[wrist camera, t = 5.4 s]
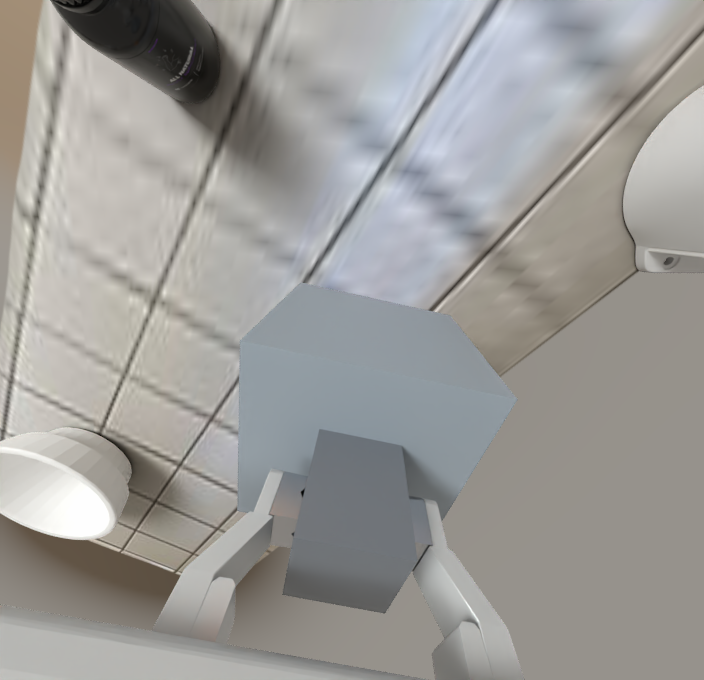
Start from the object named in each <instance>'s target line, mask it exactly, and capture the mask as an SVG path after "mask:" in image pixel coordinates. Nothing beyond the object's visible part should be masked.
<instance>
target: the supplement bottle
mask: <svg viewBox="0 0 704 680" xmlns="http://www.w3.org/2000/svg"><path fill="white" fill-rule="evenodd" d="M51 2H52V4H53V5H54V7H55V8H56V10H57V12H58V13H59V14H60V16H61V17H62V18H63V20H64V21H65V22H66V23H67V25H68V26H69V27H70V28H71V29H72V30H73V31H74V32H75V33H76V34H77V35H78V36H79V37H80V38H81V39H82V40H83V41H85V42H86V43H87V44H88V45H90V46H91V47H93V48H94V49H96V50H97V51H99V52H100V53H102V54H103V55H105V56H106V57H108V58H110V59H111V60H113V61H114V62H116V63H118V64H119V65H121V66H122V67H124V68H126V69H127V70H129V71H130V72H132V73H133V74H135V75H137V76H138V77H140V78H141V79H143V80H145V81H146V82H148V83H149V84H151V85H153V86H154V87H156V88H157V89H159V90H161V91H162V92H164V93H165V94H167V95H169V96H170V97H172V98H174V99H176V100H178V101H181V102H184V103H198V102H201V101H203V100H205V99H206V98H207V97H208V96H209V95H210V94H211V93H212V92H213V90H214V89H215V87H216V84H217V82H218V78H219V72H220V57H219V51H218V46H217V42H216V39H215V37H214V34H213V32H212V30H211V28H210V26H209V24H208V22H207V21H206V19H205V18H204V16H203V15H202V14H201V12H200V11H199V10H198V8H197V7H196V6H195V4H194V3H193V2H192V1H191V0H51Z"/></svg>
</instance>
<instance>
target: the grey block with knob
mask: <svg viewBox="0 0 704 680" xmlns="http://www.w3.org/2000/svg"><path fill="white" fill-rule="evenodd" d="M516 401H517V398H516V397H515V396H514V395H513V393H512V392H511V391H510V389H509V388H508V387H507V386H506V384H505V383H504V382H503V381H502V379H501V378H500V377H499V376H498V374H497V373H496V372H495V371H494V369H493V368H492V367H491V366H490V364H489V363H488V362H487V361H486V359H485V358H484V357H483V356H482V354H481V353H480V352H479V351H478V349H477V348H476V347H475V346H474V344H473V343H472V342H471V341H470V339H469V338H468V337H467V336H466V334H465V333H464V332H463V331H462V329H461V328H460V327H459V326H458V324H457V323H456V322H455V321H454V319H453V318H452V317H451V316H450V315H446V314H441V313H437V312H432V311H428V310H423V309H419V308H414V307H409V306H405V305H400V304H396V303H391V302H387V301H382V300H378V299H373V298H369V297H364V296H360V295H355V294H351V293H346V292H342V291H337V290H333V289H328V288H323V287H319V286H314V285H310V284H305V283H300V284H299V285H298V286H297V287H296V288H295V289H293V290H292V291H291V292H290V293H289V294H288V295H287V296H286V297H285V298H284V299H283V300H282V301H281V302H280V303H279V304H278V305H277V306H276V307H275V308H274V309H273V310H272V311H270V312H269V313H268V314H267V315H266V316H265V317H264V318H263V319H262V320H261V321H260V322H259V323H258V324H257V325H256V326H255V327H254V328H253V329H252V330H251V331H250V332H248V333H247V334H246V335H245V336H244V337H243V338H242V339H241V340H240V375H239V442H238V508H237V511H240V512H245V513H248V512H249V511H252V512H254V510H255V507H256V505H257V502H258V499H259V497H260V494H261V492H262V489H263V487H264V484H265V482H266V479H267V477H268V474H269V472H270V471H271V469H277V470H282V471H286V472H291V473H295V474H300V475H305V476H308V478H307V483H306V487H305V491H304V495H303V499H302V503H301V508H300V512H299V516H298V520H297V524H296V528H295V533H294V537H293V542H292V547H291V553H290V558H289V563H288V568H287V573H286V579H285V584H284V589H283V595H287V596H292V597H298V598H303V599H309V600H314V601H320V602H325V603H331V604H336V605H342V606H347V607H352V608H358V609H363V610H369V611H374V612H380V613H386V611H387V609H388V608H389V606H390V605H391V603H392V601H393V600H394V598H395V596H396V595H397V593H398V592H399V590H400V589H401V587H402V585H403V584H404V582H405V581H406V579H407V577H408V576H409V574H410V572H411V571H412V569H413V568H414V566H415V565H416V563H417V561H418V560H417V553H416V546H415V538H414V531H413V524H412V516H411V509H410V502H409V496H414V497H420V498H423V499H428V500H434V501H436V503H437V504H438V508H439V513H440V517H441V521H442V520H443V518H444V517H445V515H446V514H447V512H448V511H449V509H450V507H451V506H452V504H453V503H454V501H455V499H456V498H457V496H458V494H459V493H460V491H461V490H462V488H463V487H464V485H465V483H466V482H467V480H468V478H469V477H470V475H471V474H472V472H473V470H474V469H475V467H476V466H477V464H478V462H479V461H480V459H481V458H482V456H483V454H484V453H485V451H486V450H487V448H488V446H489V445H490V443H491V442H492V440H493V438H494V437H495V435H496V433H497V432H498V430H499V429H500V427H501V425H502V424H503V422H504V421H505V419H506V417H507V416H508V414H509V412H510V411H511V409H512V408H513V406H514V404H515V403H516Z"/></svg>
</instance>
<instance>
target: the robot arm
mask: <svg viewBox="0 0 704 680" xmlns="http://www.w3.org/2000/svg"><path fill="white" fill-rule="evenodd" d="M623 213H624V219H625V222H626V225H627V228H628V230H629V232H630V233H631V235H632V237H633V239H634V241H635V244H636V256H635V259H636V267H637V269H638V270H639V271H642V272H651V273H704V85H703V86H702V87H700V88H699V89H697V90H696V91H695V92H693V93H692V94H691V95H689V96H688V97H687V98H685V99H684V100H683V101H682V102H681V103H680V104H678V105H677V106H676V107H675V108H674V109H673V110H672V111H671V112H670V113H669V114H668V115H667V116H666V117H665V118H664V119H663V120H662V121H661V123H660V124H659V125H658V126H657V127H656V129H655V130H654V131H653V132H652V134H651V135H650V136H649V138H648V139H647V141H646V142H645V144H644V145H643V147H642V148H641V150H640V152H639V154H638V155H637V157H636V159H635V161H634V163H633V166H632V168H631V170H630V173H629V176H628V179H627V182H626V186H625V191H624V197H623ZM665 259H666V261H665ZM664 261H665V262H664ZM307 478H308V476H305V475H300V474H295V473H291V472H286V471H282V470H277V469H271V471H270V472H269V474H268V477H267V479H266V482H265V484H264V487H263V489H262V492H261V494H260V497H259V499H258V502H257V505H256V507H255V510H254V512H252V511H249V512H248V513H247V514H246V515H245V516H244V517H242V518H241V519H240V520H239V521H238V522H237V523H236V524H235V525H233V526H232V527H231V528H230V529H229V530H228V531H227V532H225V533H224V534H223V535H222V536H221V537H220V538H219V539H217V540H216V541H215V542H214V543H213V544H212V545H211V546H209V547H208V548H207V549H206V550H205V551H204V552H203V553H202V554H200V555H199V556H198V557H197V558H196V559H195V560H194V561H192V562H191V563H190V564H189V565H188V566H187V567H186V568H185V569H184V571H183V572H182V574H181V576H180V578H179V580H178V582H177V584H176V586H175V587H174V590H173V591H172V593H171V595H170V597H169V599H168V601H167V603H166V604H165V606H164V608H163V610H162V612H161V614H160V616H159V618H158V620H157V621H156V623H155V625H154V627H153V629H152V631H148V630H143V629H137V628H131V627H126V626H120V625H114V624H109V623H103V622H97V621H92V620H86V619H80V618H74V617H68V616H63V615H57V614H52V613H46V612H41V611H34V610H29V609H23V608H18V607H12V606H6V605H1V604H0V680H426V679H421V678H416V677H410V676H404V675H398V674H392V673H387V672H381V671H376V670H370V669H365V668H359V667H353V666H348V665H342V664H336V663H330V662H325V661H319V660H313V659H308V658H302V657H296V656H291V655H285V654H279V653H274V652H268V651H262V650H257V649H251V648H245V647H239V646H234V645H228V644H227V641H228V638H229V635H230V632H231V629H232V626H233V623H234V620H235V587H236V585H237V584H238V583H239V582H240V581H241V579H242V578H243V577H244V576H245V575H246V574H247V572H248V571H249V570H250V569H251V568H252V567H253V565H254V564H255V563H256V562H257V561H258V560H259V558H260V557H261V556H262V555H263V554H264V552H265V551H266V550H267V549H268V548H269V547H270V545H275V546H282V547H289V548H291V547H292V542H293V537H294V533H295V528H296V524H297V520H298V516H299V512H300V508H301V503H302V499H303V495H304V491H305V487H306V483H307ZM409 502H410V509H411V516H412V524H413V531H414V538H415V546H416V553H417V560H418V561H417V563H416V565H415V566H414V568H413V569H412V571H413V575H414V577H415V579H416V581H417V583H418V585H419V587H420V589H421V591H422V593H423V596H424V598H425V599H426V602H427V604H428V606H429V608H430V610H431V612H432V614H433V616H434V618H435V620H436V622H437V624H438V626H439V628H440V630H441V632H442V634H443V637H444V640H443V641H442V642H441V643H440V645H438V647H437V648H436V649H435V650H434V651H433V653H432V659H433V667H434V674H435V680H524V677H523V673H522V670H521V667H520V664H519V661H518V658H517V655H516V652H515V649H514V646H513V643H512V640H511V637H510V634H509V631H508V628H507V627H506V626H505V624H504V623H503V621H502V620H501V618H500V617H499V616H498V614H497V613H496V611H495V610H494V609H493V607H492V606H491V605H490V603H489V602H488V600H487V599H486V597H485V596H484V594H483V593H482V592H481V590H480V589H479V587H478V586H477V585H476V583H475V582H474V580H473V579H472V578H471V576H470V575H469V573H468V572H467V570H466V569H465V568H464V566H463V565H462V563H461V562H460V561H459V559H458V558H457V556H456V555H455V554H454V552H453V551H452V550H449V549H448V546H447V542H446V538H445V534H444V529H443V525H442V521H441V517H440V513H439V508H438V504H437V503H436V501H434V500H428V499H423V498H420V497H414V496H409Z"/></svg>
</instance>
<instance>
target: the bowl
mask: <svg viewBox="0 0 704 680" xmlns="http://www.w3.org/2000/svg"><path fill="white" fill-rule="evenodd" d="M131 474H132V468H131V465H130V462H129V460H128V459H127V457H126V456H125V455H124V454H123V452H122V451H121V450H120V449H119V448H117V447H116V446H115V445H114V444H113V443H111V442H110V441H108V440H107V439H105V438H103V437H101V436H99V435H97V434H95V433H92V432H89V431H86V430H83V429H79V428H71V427H62V428H58V429H54V430H51V431H49V432H46V433H42V432H29V433H25V434H20V435H17V436H14V437H11V438H9V439H6V440H3V441H0V513H1V514H3V515H4V516H6V517H8V518H9V519H11V520H13V521H15V522H17V523H19V524H21V525H23V526H26V527H28V528H31V529H33V530H36V531H39V532H42V533H45V534H48V535H52V536H56V537H61V538H67V539H76V540H89V539H96V538H100V537H103V536H105V535H107V534H108V533H110V532H112V530H113V529H114V528H115V526H116V524H117V522H118V520H119V518H120V516H121V513H122V511H123V509H124V507H125V504H126V502H127V500H128V496H129V487H128V485H127V484H128V482H129V480H130V477H131Z"/></svg>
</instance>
